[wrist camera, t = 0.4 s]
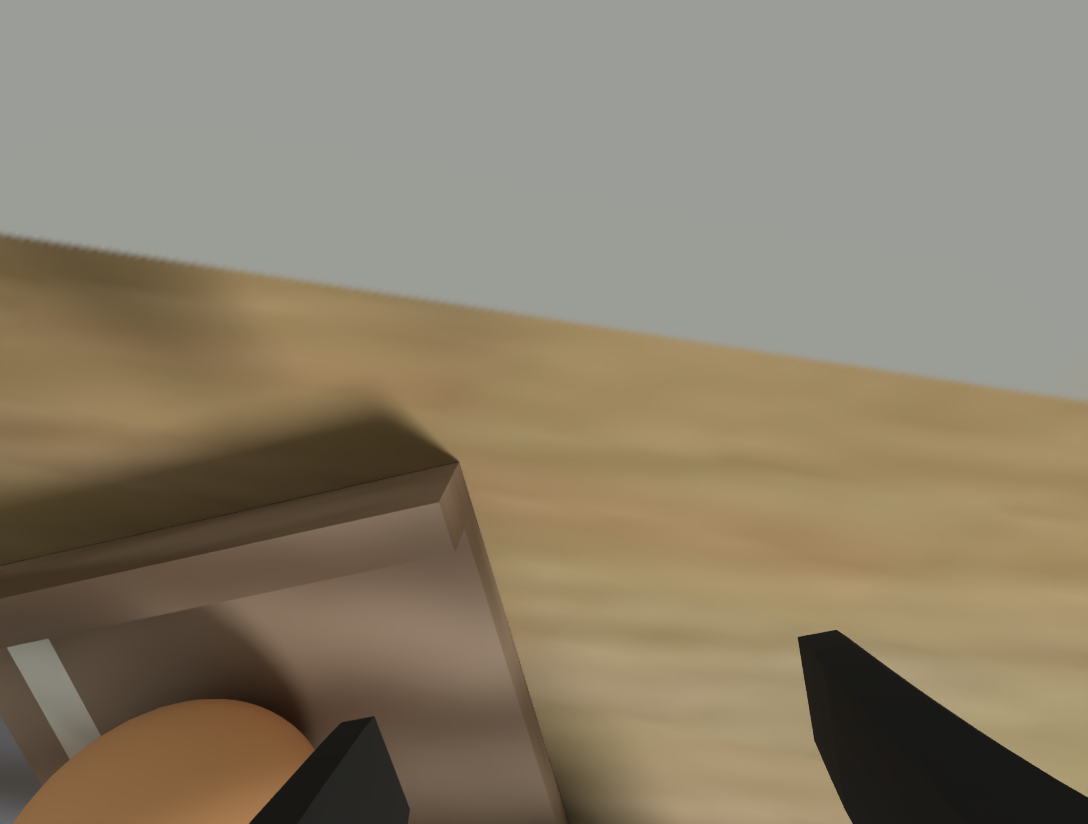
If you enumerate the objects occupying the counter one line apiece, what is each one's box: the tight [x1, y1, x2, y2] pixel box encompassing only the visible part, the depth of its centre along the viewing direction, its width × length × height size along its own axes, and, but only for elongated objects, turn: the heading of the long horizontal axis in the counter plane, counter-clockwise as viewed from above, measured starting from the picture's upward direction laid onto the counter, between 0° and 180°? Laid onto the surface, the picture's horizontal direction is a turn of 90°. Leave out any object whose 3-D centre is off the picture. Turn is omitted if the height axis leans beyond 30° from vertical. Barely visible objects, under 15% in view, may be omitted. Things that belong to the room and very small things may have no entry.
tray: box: [0, 462, 569, 824], centre depth 18 cm, size 15×28×6 cm, turn 104°
